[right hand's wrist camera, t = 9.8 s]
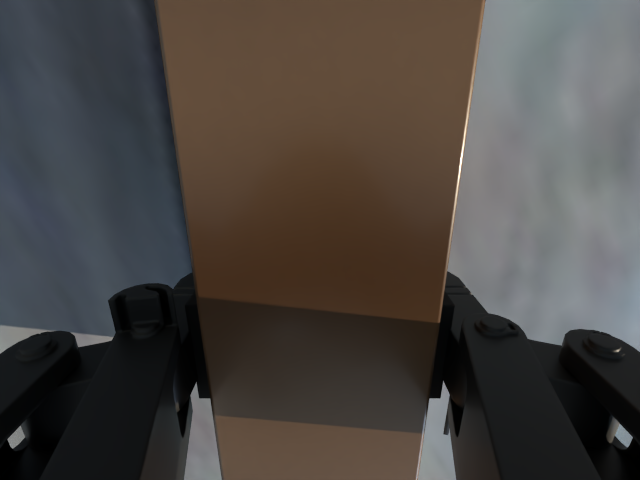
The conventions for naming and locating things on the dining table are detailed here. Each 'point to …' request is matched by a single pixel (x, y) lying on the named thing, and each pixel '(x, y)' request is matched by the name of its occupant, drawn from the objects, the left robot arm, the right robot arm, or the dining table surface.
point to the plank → (319, 219)
